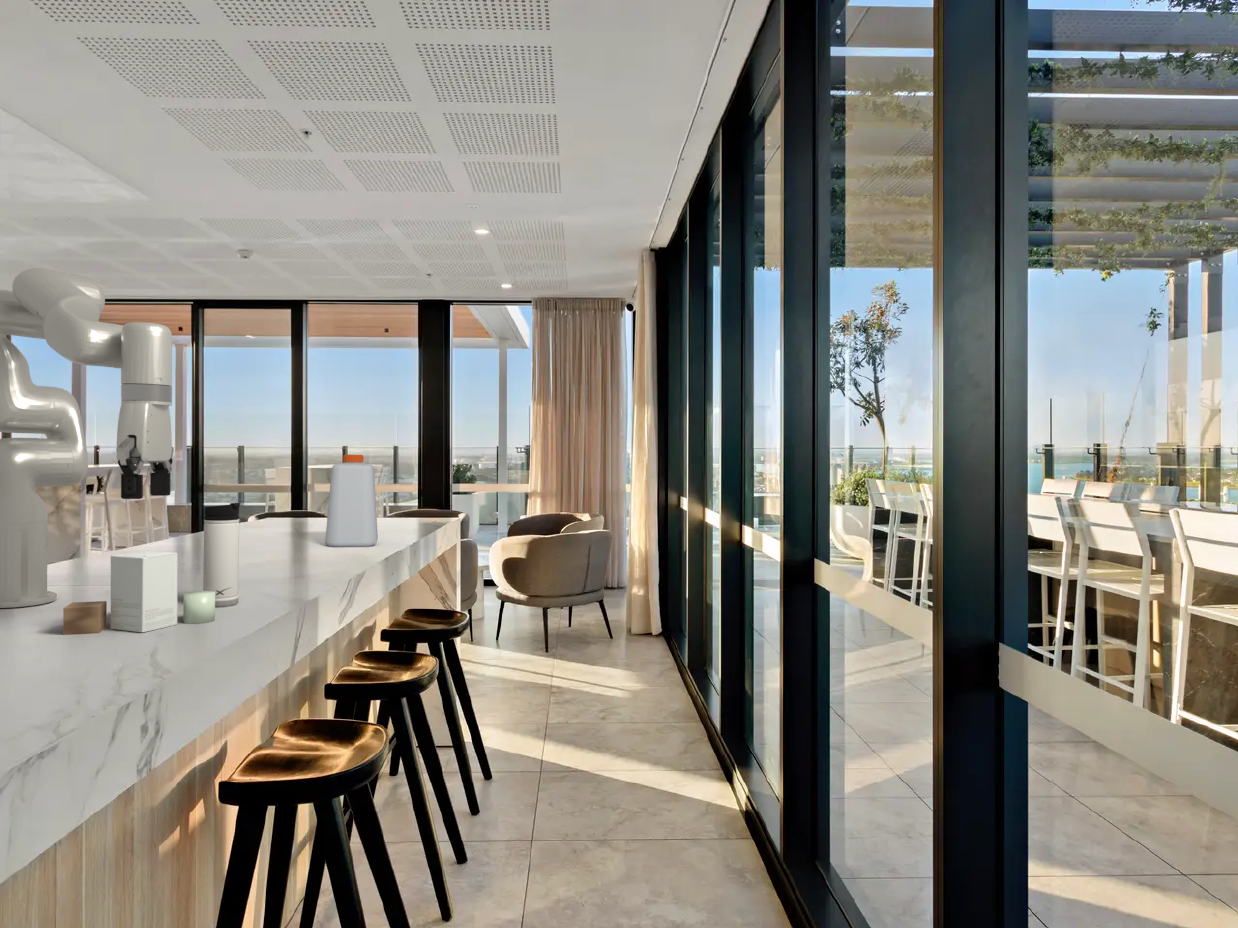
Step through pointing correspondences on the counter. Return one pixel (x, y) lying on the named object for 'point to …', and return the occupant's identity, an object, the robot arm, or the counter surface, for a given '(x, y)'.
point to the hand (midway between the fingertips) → (146, 497)
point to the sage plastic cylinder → (199, 607)
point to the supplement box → (143, 591)
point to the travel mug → (221, 553)
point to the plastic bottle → (352, 504)
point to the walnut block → (84, 617)
